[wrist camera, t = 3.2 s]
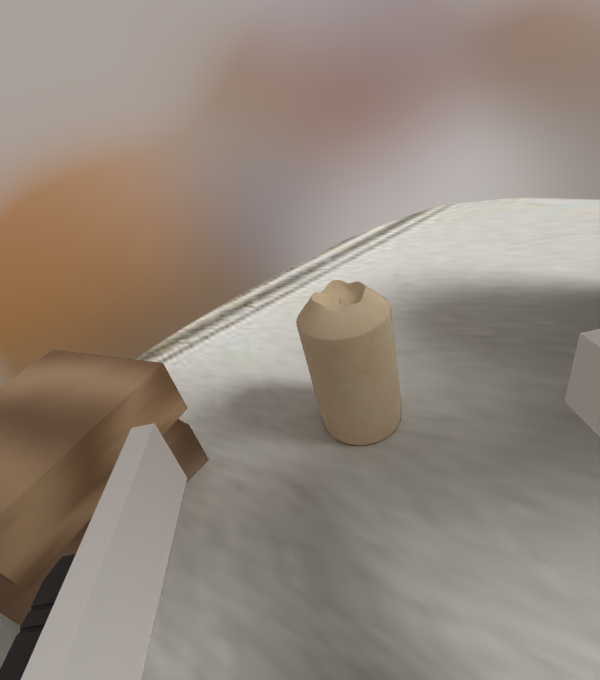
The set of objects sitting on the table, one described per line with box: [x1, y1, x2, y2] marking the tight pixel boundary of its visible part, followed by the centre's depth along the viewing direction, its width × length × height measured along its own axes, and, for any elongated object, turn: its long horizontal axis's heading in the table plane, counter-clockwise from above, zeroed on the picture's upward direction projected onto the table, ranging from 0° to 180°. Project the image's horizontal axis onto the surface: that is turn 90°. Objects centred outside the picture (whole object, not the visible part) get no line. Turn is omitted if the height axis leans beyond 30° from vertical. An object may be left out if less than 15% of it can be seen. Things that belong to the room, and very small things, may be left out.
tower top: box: [0, 350, 187, 591], centre depth 23 cm, size 12×12×4 cm
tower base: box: [0, 419, 209, 625], centre depth 25 cm, size 12×12×4 cm
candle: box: [297, 280, 401, 445], centre depth 23 cm, size 6×6×10 cm
